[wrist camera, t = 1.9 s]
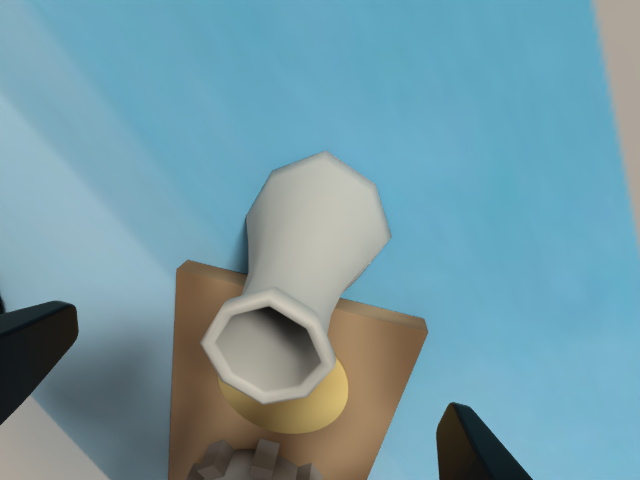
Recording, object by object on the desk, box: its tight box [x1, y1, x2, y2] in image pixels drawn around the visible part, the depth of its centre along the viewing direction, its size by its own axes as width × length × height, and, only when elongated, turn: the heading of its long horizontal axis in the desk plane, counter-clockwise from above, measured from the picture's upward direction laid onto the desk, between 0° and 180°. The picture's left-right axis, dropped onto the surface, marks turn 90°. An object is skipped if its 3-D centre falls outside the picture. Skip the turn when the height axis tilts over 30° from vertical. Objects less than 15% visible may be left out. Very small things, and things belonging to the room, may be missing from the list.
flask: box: [200, 151, 392, 405], centre depth 12 cm, size 7×7×10 cm
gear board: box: [168, 260, 428, 480], centre depth 21 cm, size 14×22×4 cm, turn 168°
